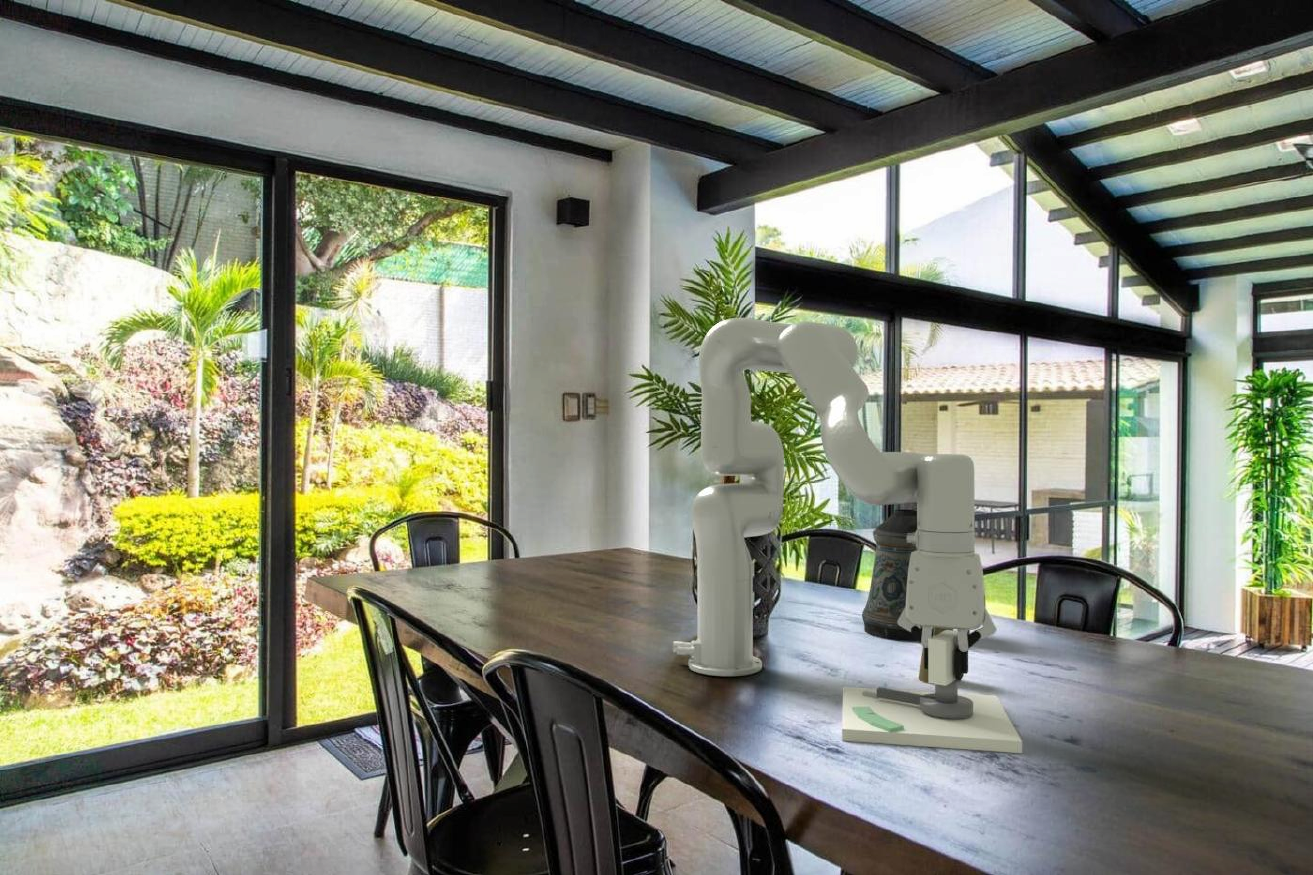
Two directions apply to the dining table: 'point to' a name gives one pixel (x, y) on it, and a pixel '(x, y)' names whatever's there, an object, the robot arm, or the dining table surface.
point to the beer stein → (890, 577)
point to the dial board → (926, 723)
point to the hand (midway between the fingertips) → (946, 675)
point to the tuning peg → (938, 682)
